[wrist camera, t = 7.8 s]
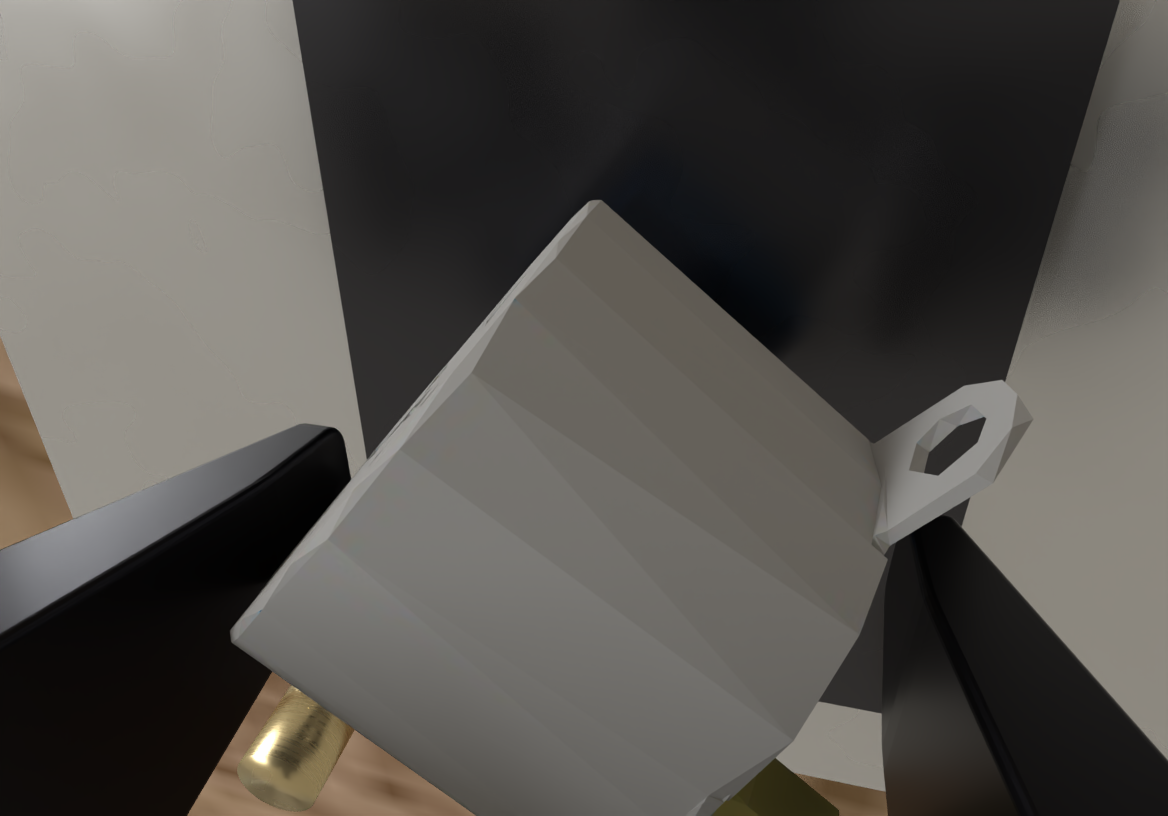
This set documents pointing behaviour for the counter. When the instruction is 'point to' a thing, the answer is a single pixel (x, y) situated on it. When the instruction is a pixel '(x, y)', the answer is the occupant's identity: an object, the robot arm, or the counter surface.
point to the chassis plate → (653, 209)
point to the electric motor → (609, 551)
